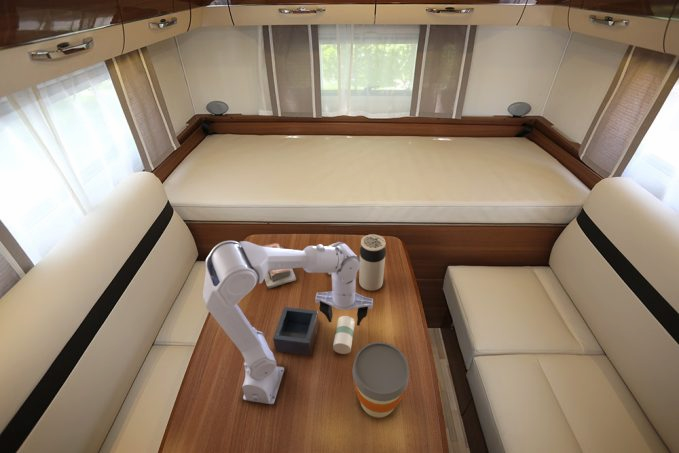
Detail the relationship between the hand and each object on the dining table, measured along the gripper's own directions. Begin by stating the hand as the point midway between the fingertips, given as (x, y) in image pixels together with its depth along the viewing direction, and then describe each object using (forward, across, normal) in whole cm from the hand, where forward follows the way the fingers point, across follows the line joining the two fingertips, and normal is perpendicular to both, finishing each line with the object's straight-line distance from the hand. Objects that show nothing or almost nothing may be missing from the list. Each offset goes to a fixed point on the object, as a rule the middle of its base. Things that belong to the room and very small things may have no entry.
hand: (344, 320), depth 90 cm
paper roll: (+6, 0, 0) cm, 6 cm away
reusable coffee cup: (+9, -10, +15) cm, 20 cm away
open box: (+9, +14, +1) cm, 16 cm away
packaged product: (+9, +28, -25) cm, 39 cm away
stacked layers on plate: (+9, +8, -31) cm, 33 cm away
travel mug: (+9, -6, -23) cm, 25 cm away
